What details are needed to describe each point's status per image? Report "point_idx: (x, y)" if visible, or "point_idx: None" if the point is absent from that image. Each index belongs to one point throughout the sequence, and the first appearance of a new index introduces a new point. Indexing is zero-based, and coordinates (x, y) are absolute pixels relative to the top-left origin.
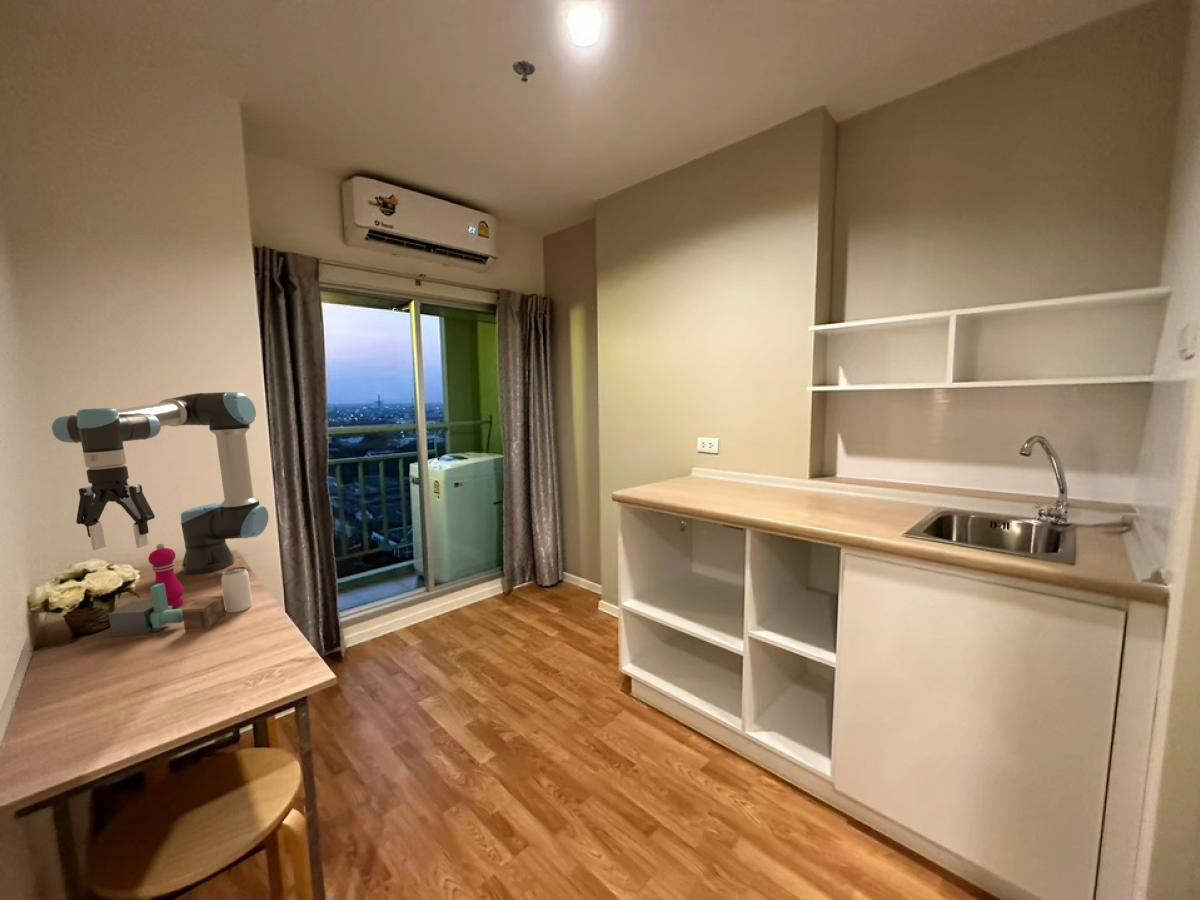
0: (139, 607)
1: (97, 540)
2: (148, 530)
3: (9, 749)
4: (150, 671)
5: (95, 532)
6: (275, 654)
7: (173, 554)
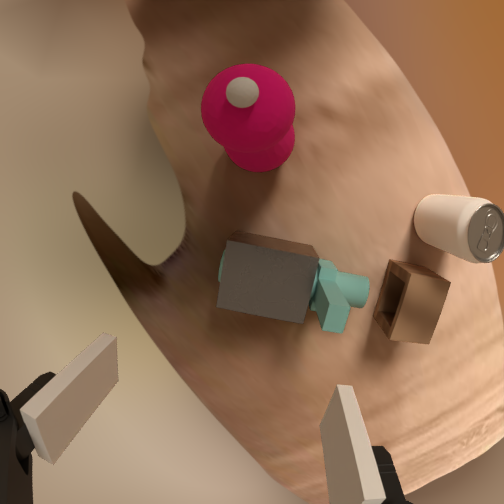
0: (274, 290)
1: (96, 394)
2: (391, 458)
3: (295, 494)
4: (366, 421)
5: (71, 424)
6: (488, 399)
7: (294, 104)
